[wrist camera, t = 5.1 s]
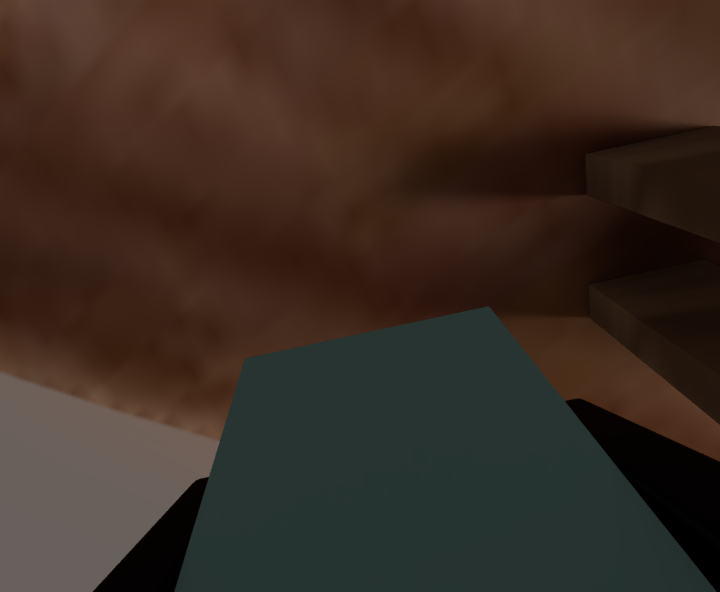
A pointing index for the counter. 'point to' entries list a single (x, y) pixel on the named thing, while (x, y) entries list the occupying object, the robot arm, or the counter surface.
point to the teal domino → (419, 476)
